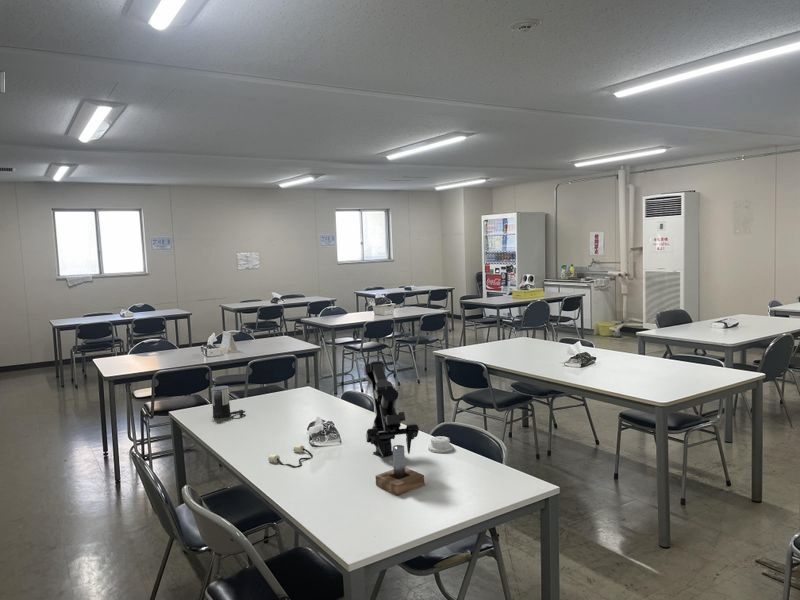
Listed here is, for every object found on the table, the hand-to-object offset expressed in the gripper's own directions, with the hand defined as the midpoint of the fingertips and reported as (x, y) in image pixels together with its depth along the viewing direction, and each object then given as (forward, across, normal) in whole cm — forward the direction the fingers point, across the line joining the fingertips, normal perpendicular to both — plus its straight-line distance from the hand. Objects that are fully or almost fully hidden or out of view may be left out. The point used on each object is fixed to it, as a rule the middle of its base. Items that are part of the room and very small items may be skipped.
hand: (396, 454), depth 204 cm
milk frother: (-71, -67, +86) cm, 131 cm away
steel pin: (+9, 0, +3) cm, 10 cm away
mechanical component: (-11, +23, +26) cm, 36 cm away
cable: (-17, -35, +32) cm, 50 cm away
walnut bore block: (+10, 0, +3) cm, 10 cm away
